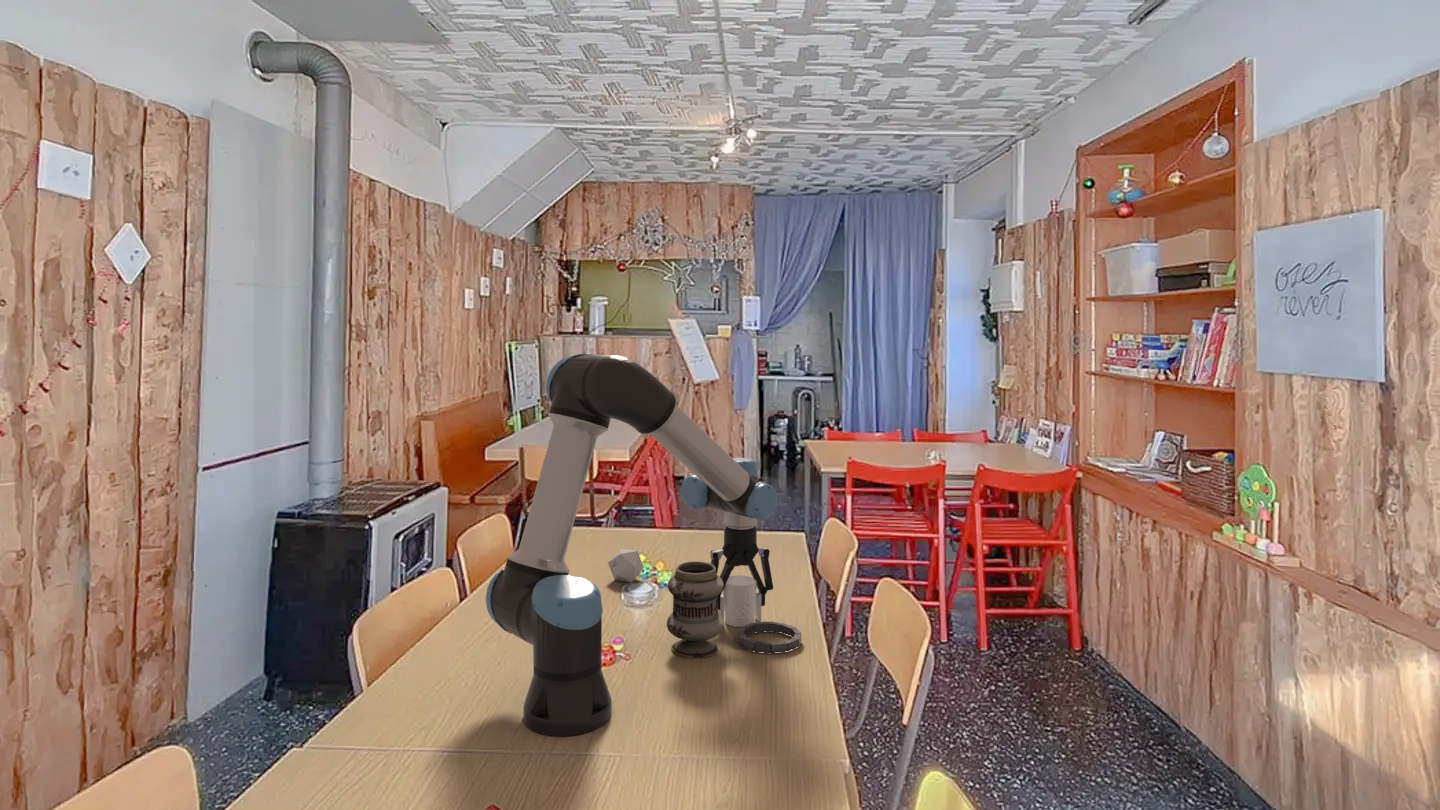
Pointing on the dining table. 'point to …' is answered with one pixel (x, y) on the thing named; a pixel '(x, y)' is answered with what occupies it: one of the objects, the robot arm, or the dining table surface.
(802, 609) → the dining table surface
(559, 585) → the robot arm
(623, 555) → the die
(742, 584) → the white cup
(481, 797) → the dining table surface
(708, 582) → the apothecary jar
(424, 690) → the dining table surface
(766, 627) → the collar ring
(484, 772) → the dining table surface
